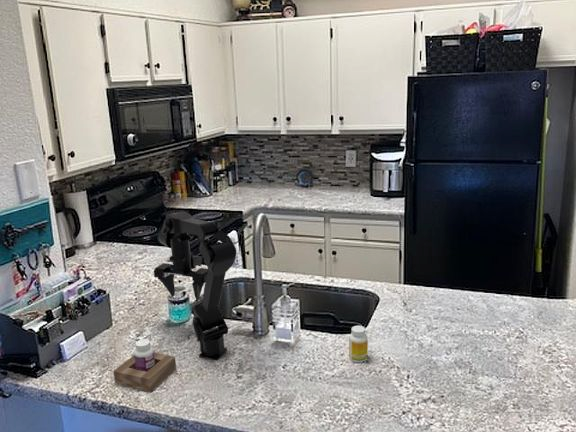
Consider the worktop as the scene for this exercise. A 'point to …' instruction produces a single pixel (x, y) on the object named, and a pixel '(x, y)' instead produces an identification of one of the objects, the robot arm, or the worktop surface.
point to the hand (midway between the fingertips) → (185, 297)
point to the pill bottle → (144, 355)
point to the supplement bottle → (358, 344)
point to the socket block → (145, 373)
